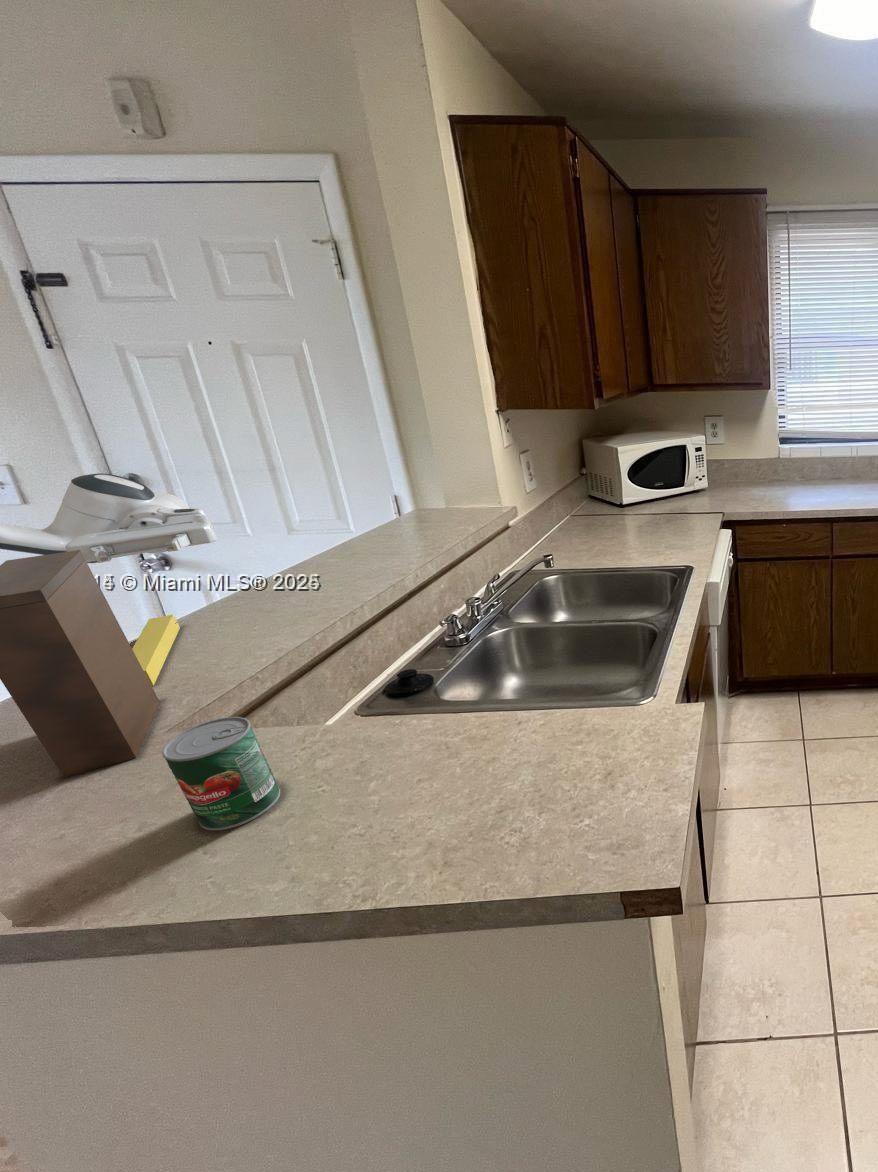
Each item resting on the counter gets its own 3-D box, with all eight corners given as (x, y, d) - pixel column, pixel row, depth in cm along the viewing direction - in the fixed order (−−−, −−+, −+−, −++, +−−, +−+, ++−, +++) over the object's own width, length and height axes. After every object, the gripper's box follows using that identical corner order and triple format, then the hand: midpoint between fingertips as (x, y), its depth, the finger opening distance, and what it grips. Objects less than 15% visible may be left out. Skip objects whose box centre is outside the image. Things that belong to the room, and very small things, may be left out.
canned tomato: (192, 841, 72) (151, 768, 67) (207, 799, 78) (170, 730, 74) (277, 814, 76) (244, 743, 71) (284, 776, 82) (254, 709, 77)
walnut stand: (63, 777, 81) (-49, 604, 71) (97, 717, 93) (5, 560, 82) (136, 757, 85) (40, 589, 74) (160, 701, 97) (80, 549, 86)
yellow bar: (124, 692, 99) (115, 676, 98) (155, 632, 117) (148, 618, 116) (153, 685, 101) (145, 670, 100) (180, 627, 119) (173, 614, 118)
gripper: (70, 525, 117) (46, 549, 107) (211, 506, 127) (202, 526, 117) (87, 555, 120) (65, 581, 109) (223, 535, 130) (215, 556, 120)
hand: (137, 552), depth 113 cm, fingers open, 8 cm apart
